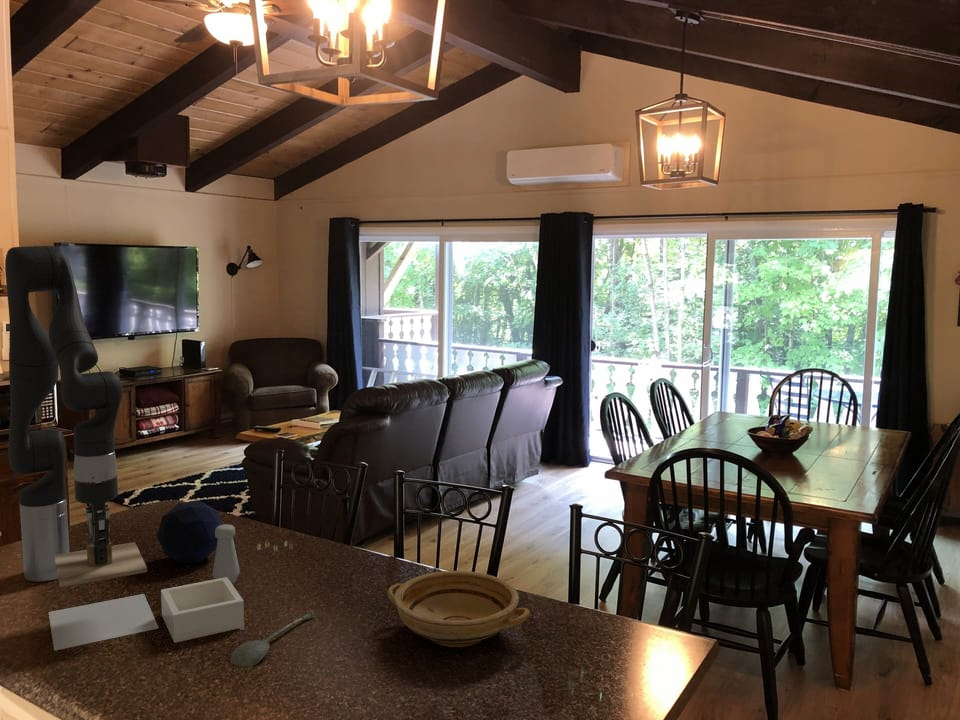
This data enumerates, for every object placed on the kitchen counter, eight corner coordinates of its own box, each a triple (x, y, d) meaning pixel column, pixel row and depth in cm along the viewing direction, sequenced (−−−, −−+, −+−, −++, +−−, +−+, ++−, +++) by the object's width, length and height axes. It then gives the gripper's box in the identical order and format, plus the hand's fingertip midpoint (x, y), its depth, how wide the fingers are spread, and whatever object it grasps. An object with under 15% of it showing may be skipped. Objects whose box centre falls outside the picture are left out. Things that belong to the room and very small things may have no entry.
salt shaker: (231, 588, 176) (230, 531, 174) (207, 586, 177) (206, 529, 175) (244, 578, 181) (243, 523, 180) (221, 576, 182) (219, 520, 181)
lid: (54, 558, 160) (53, 535, 159) (135, 545, 168) (134, 523, 167) (59, 587, 147) (58, 562, 147) (147, 571, 155) (146, 548, 154)
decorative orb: (208, 520, 203) (174, 483, 194) (246, 533, 195) (213, 494, 186) (169, 567, 195) (132, 530, 186) (207, 582, 187) (170, 544, 178)
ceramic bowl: (547, 621, 162) (548, 584, 161) (504, 679, 140) (505, 636, 139) (417, 595, 174) (417, 560, 173) (358, 645, 151) (358, 605, 150)
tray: (48, 614, 162) (48, 612, 162) (144, 596, 171) (144, 593, 171) (54, 653, 147) (54, 650, 147) (158, 631, 156) (158, 628, 156)
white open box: (162, 618, 161) (160, 589, 160) (227, 604, 168) (227, 577, 167) (174, 645, 150) (173, 615, 149) (244, 629, 157) (243, 600, 156)
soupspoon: (221, 667, 145) (250, 678, 142) (221, 650, 144) (249, 660, 141) (299, 614, 164) (325, 623, 162) (299, 599, 164) (325, 607, 161)
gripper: (70, 467, 159) (75, 550, 161) (77, 487, 147) (82, 576, 149) (112, 463, 163) (115, 544, 165) (122, 482, 151) (125, 569, 153)
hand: (99, 559), depth 157 cm, fingers closed on lid, 4 cm apart
